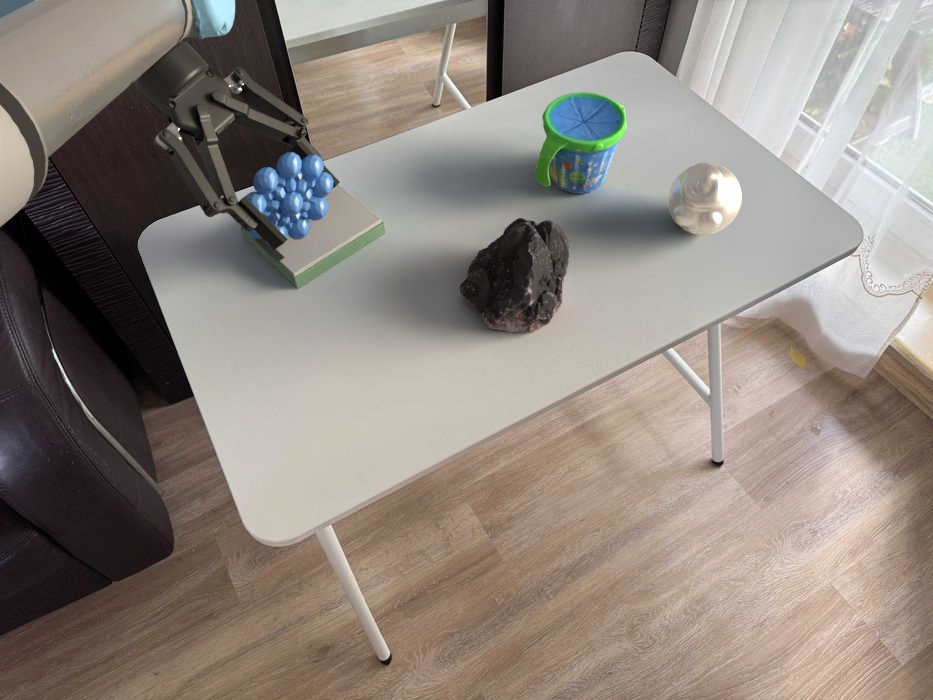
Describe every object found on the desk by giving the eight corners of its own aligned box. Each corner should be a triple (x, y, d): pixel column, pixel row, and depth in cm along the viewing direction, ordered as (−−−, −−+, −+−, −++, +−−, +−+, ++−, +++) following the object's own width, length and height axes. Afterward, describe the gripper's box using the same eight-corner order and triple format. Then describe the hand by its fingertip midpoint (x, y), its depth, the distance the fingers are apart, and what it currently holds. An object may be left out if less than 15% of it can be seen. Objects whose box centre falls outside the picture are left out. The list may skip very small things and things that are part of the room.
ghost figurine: (644, 217, 94) (658, 156, 86) (701, 193, 97) (721, 132, 89) (686, 261, 90) (706, 201, 82) (746, 235, 92) (770, 174, 84)
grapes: (326, 202, 93) (309, 121, 84) (349, 231, 89) (334, 151, 80) (242, 235, 89) (213, 155, 80) (262, 267, 86) (235, 188, 76)
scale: (297, 289, 89) (292, 275, 87) (243, 236, 94) (237, 222, 92) (385, 233, 94) (383, 218, 92) (329, 186, 100) (326, 172, 98)
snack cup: (560, 223, 94) (566, 162, 86) (509, 182, 99) (511, 120, 91) (644, 174, 99) (658, 111, 91) (592, 136, 104) (601, 74, 96)
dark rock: (470, 348, 83) (477, 298, 75) (448, 259, 90) (452, 204, 82) (578, 334, 86) (597, 284, 77) (550, 247, 92) (564, 192, 84)
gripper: (213, 27, 85) (345, 169, 94) (73, 135, 74) (237, 286, 82) (236, -7, 79) (374, 147, 88) (87, 105, 68) (262, 271, 76)
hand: (308, 215), depth 85 cm, fingers closed on grapes, 10 cm apart
